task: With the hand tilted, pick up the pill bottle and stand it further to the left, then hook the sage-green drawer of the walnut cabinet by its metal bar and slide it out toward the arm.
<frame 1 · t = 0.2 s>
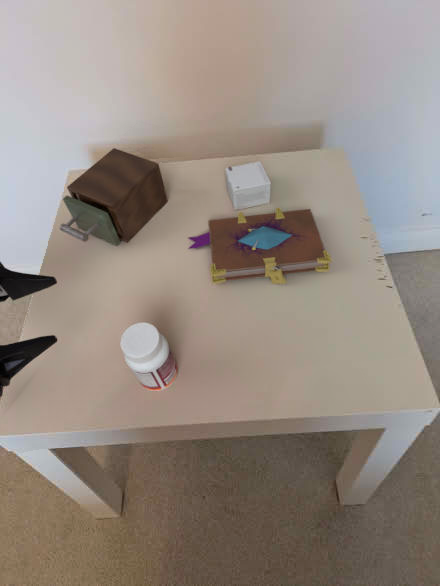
hand: (56, 307, 47), 15 cm above the table, tool horizontal, fingers open, 9 cm apart
book: (253, 254, 70), on the table
drawer: (104, 210, 72), point 5 cm above the table, slide at 1.0 cm
small box: (247, 196, 79), on the table
pill bottle: (158, 373, 57), on the table
cabinet: (127, 212, 79), on the table
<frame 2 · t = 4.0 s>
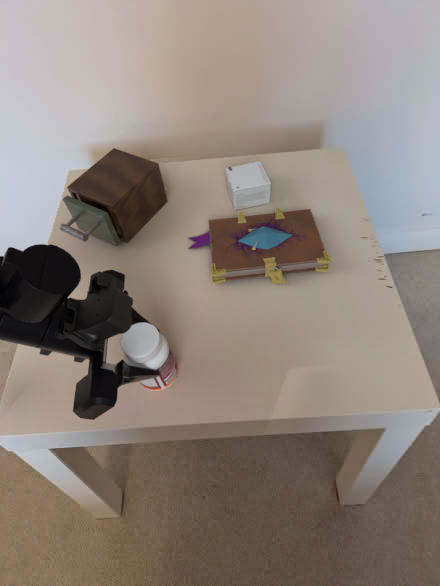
hand: (158, 353, 52), 7 cm above the table, tool tilted 45°, fingers closed on pill bottle, 6 cm apart
pill bottle: (158, 373, 57), on the table, touching gripper
everything else where it was.
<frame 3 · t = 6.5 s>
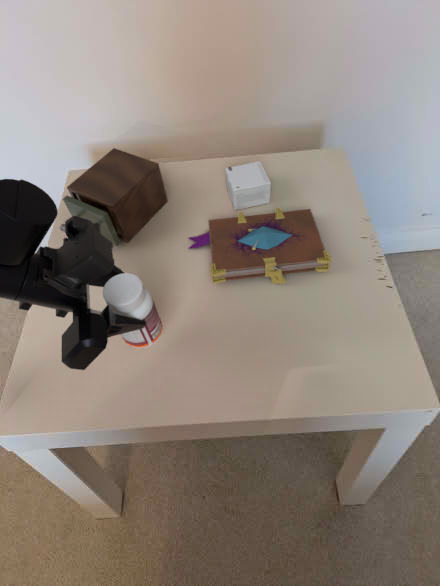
hand: (141, 306, 51), 11 cm above the table, tool tilted 45°, fingers closed on pill bottle, 6 cm apart
pill bottle: (143, 332, 56), point 4 cm above the table, touching gripper
everything else where it was.
when the fingers open (7 cm above the table, at t = 9.4 s): pill bottle stays where it is, on the table.
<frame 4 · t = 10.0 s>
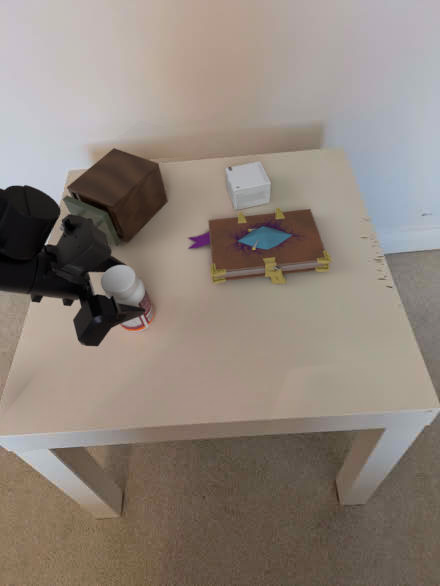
hand: (135, 289, 58), 7 cm above the table, tool tilted 45°, fingers open, 9 cm apart
pill bottle: (138, 318, 63), on the table
everything else where it was.
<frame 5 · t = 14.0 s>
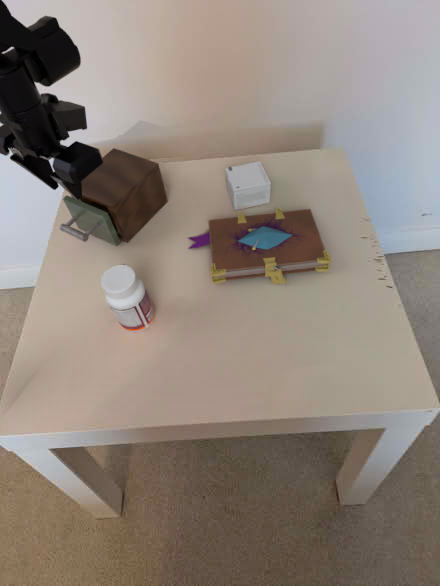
hand: (67, 193, 63), 13 cm above the table, tool pointing down, fingers open, 5 cm apart
nothing on the table moved.
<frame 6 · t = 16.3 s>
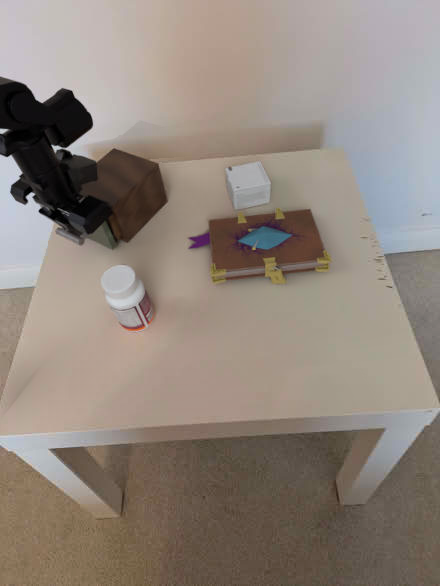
hand: (79, 235, 69), 4 cm above the table, tool pointing down, fingers closed, pressing on drawer
drawer: (100, 213, 72), point 5 cm above the table, slide at 2.1 cm, touching gripper
everything else where it was.
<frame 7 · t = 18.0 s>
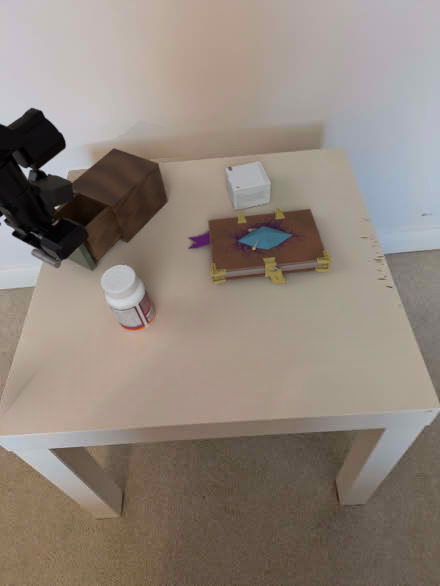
hand: (57, 256, 67), 4 cm above the table, tool pointing down, fingers closed, pressing on drawer
drawer: (79, 233, 69), point 5 cm above the table, slide at 8.0 cm, touching gripper
everything else where it was.
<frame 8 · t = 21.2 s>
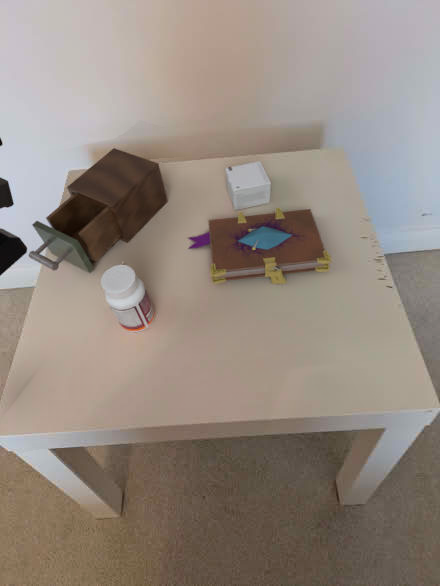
drawer: (77, 235, 69), point 5 cm above the table, slide at 8.6 cm
everything else where it was.
at the end: drawer slide at 8.6 cm; pill bottle moved 11.1 cm from its start; pill bottle tilted 0° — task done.
